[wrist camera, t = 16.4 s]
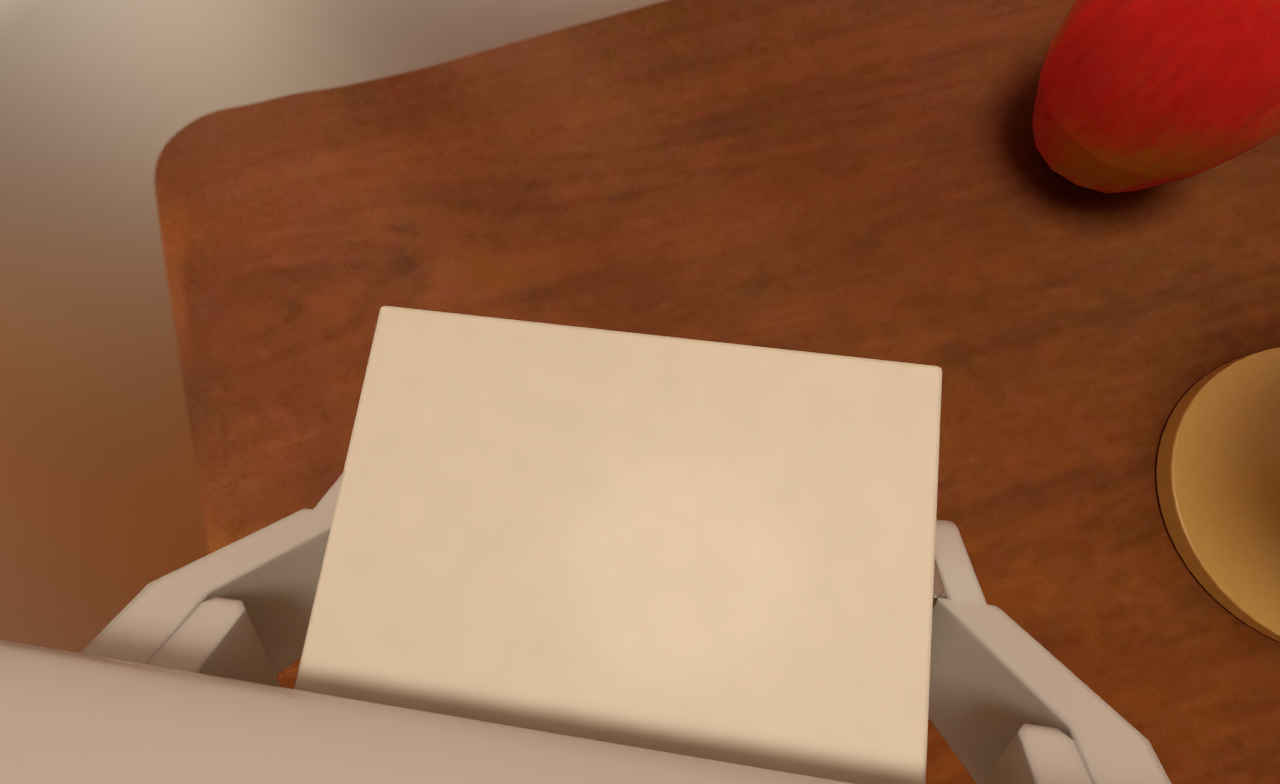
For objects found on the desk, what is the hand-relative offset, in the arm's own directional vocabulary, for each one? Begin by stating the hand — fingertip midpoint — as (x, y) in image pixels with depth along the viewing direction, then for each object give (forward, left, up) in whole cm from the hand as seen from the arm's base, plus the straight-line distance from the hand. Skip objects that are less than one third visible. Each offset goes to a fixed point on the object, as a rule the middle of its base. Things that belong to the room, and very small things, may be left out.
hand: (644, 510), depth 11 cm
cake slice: (-1, 0, -4) cm, 4 cm away
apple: (+23, -14, -19) cm, 33 cm away
